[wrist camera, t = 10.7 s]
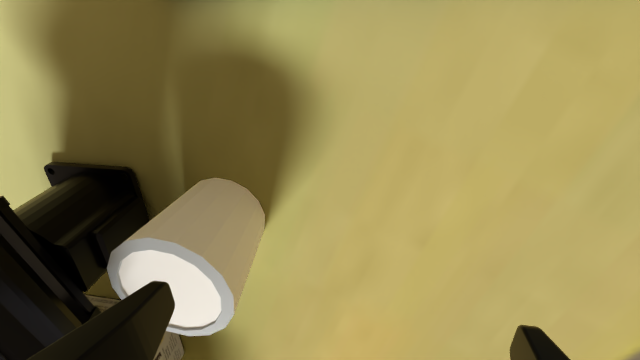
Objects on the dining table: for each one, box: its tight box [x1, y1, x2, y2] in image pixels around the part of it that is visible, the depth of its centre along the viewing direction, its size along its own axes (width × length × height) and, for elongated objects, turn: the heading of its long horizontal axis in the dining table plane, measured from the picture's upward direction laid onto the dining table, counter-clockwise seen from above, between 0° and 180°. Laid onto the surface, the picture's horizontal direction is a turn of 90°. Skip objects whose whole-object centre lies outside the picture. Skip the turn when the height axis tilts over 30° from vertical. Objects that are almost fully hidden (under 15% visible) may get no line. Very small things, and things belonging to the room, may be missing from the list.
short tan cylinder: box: [107, 177, 265, 336], centre depth 21 cm, size 7×7×7 cm
